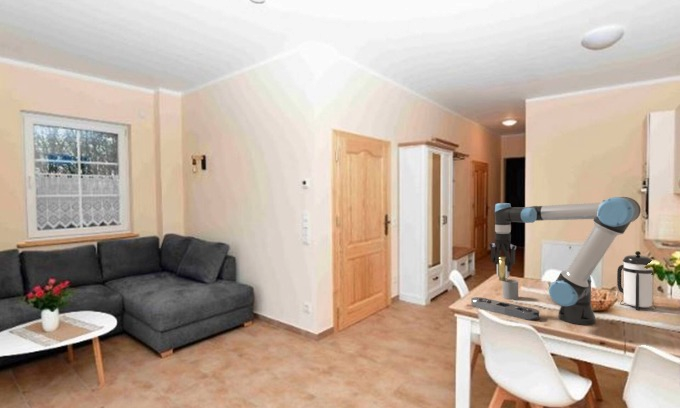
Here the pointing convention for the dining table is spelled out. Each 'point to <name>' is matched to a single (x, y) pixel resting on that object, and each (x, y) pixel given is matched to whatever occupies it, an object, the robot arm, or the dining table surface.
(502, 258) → the pin
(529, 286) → the dining table surface
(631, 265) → the coffee press
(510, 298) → the cup
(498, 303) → the long dark plank
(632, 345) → the dining table surface
